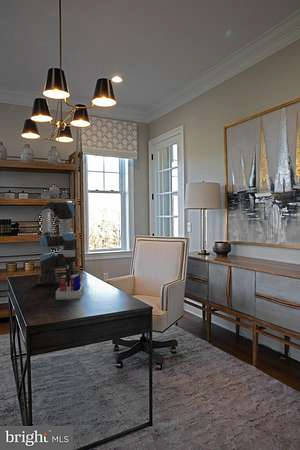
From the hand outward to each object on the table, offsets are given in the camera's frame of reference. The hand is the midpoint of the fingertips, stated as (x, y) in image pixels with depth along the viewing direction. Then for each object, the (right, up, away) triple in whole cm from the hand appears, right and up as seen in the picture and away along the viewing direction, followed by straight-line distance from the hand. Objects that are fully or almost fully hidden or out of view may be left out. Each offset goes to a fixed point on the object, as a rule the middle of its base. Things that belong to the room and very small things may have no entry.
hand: (70, 289), depth 218 cm
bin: (0, -4, 0) cm, 4 cm away
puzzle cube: (0, -1, 0) cm, 1 cm away
